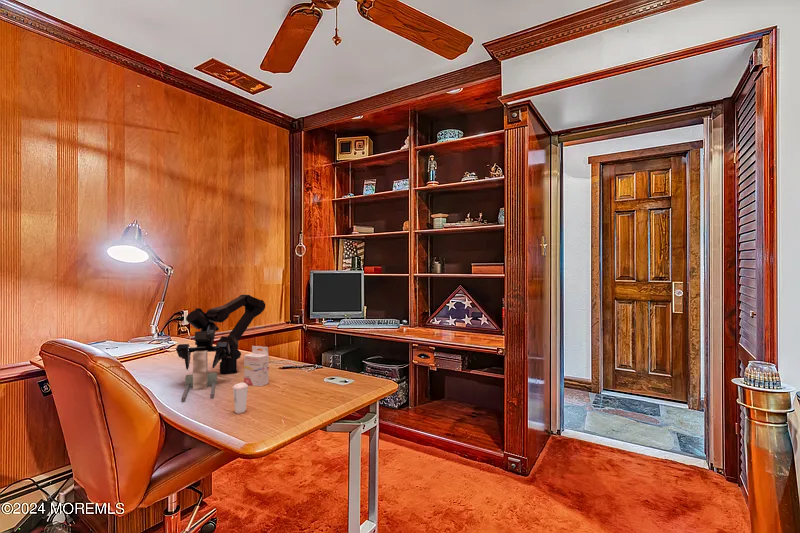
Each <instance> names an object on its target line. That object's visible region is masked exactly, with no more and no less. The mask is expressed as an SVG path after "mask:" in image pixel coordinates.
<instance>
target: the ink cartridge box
mask: <svg viewBox="0 0 800 533" xmlns="http://www.w3.org/2000/svg"><path fill="white" fill-rule="evenodd" d="M269 357H270V356H269V347H268V346H262V345H252V346H251V352H250V353H247V354H245V355H244V356H243V360H244V361H243V365H244V366H243V383H246V384H247V385H248V386H253V387H263V386H266V385H268V384H269V383H270V380H269V379H270V376H269V374H270V373H269V371H270V370H269V369H270V366H269V363H270V362H269V361H270V360H269V359H270V358H269Z"/></svg>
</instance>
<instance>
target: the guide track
mask: <svg viewBox="0 0 800 533" xmlns="http://www.w3.org/2000/svg"><path fill="white" fill-rule="evenodd" d="M184 379H185V380H184V381H185V383H184V390H183V394H182V396H181V403H185V402H186V400H187V396H188V394H189V391H190V388H193V373H192V374H187V375H186V374H185V378H184ZM217 384H218V372H217V371H216V372H215V371H213V372H208V386H211V387H210V388H211V389H210V399H211V400H212V399H214V398H215V390H216V386H217Z"/></svg>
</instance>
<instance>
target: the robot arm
mask: <svg viewBox="0 0 800 533" xmlns="http://www.w3.org/2000/svg"><path fill="white" fill-rule="evenodd" d="M242 307H244V312H243V314H242V316H241V317H240V318H239V319H238V320H237V323H236V324H235V325H234V327H233V328H232V330H231V331H230V333H228V335H227V336H226V335H225V336H221V337H220V338H219V340H218V341H217V342H216V345H214V343H215V338H216V332H218V331H220V328H219V327H218V326H217V324H216V323H224V322H225V321H226V320H228V318H229V317H230V315H231V314H232V313H234V312H235V311H237V310H239V309H241V308H242ZM265 309H266V302H265V301H264V300H263V299H259V298H257V297H253V295H250V294H240V295H239V296H238V297H236V298H234V299H232V300H230V301H229V302H227V303H225V304H223V305H220V306H216V307H212V308H209V309H208V310H207V311H206V312H205V311H204V310H203V309H202V308H199V307H197V308H195V309H194V310H192V311H191V312H189V313H187V315H186V317H185V321H187V323H189V324H190V325H191V326H192V327H193V328H195V329H196V330H199V331H195V332H194V339H193V340H194V341H195V342H194V344H195V346H190V344H189V343H180V344H177V345H176V347H175V350H176V353H177V355H178V358H180V359H182V360H184V363H185V370H186V371H188V369H189V368H190V363H191V354H192V353H194V351H204V350H207V353H209V352H210V353H211V352H215V354H214V358H213V362H212V367H211V368H212V369H215V368H216V366H217V365H218V363H219V373H220V375H227V374H228V375H229V374H237V373H238V366H237V364H238V360H239V359H240V358H241V357H242V352H241V351H240V350H239V349H238V348H239V341H240V339H241V338H242V336H243V335H244V334H245V332H246V330H247V329H248V327H249V326H250V324H251V323H252V322H253V320H254V318H256V317H257V316H259V315H261V314H262V313H263V312H264V310H265ZM213 345H214V346H213Z"/></svg>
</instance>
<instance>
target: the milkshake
mask: <svg viewBox="0 0 800 533" xmlns="http://www.w3.org/2000/svg"><path fill="white" fill-rule="evenodd" d="M230 384H231V386H232V394H233V395H232V396H233V401H234V402H233V404H234V413H235V414H237V415H239V414H244V413H245V412H247V401H248V400H247V399H248V391H249V389H248V388H249V385H247V384H246V383H244V382H242V381H241V382H239V383H238V382H237V383H236V384H234V385H233V382H232V381H231V380H230Z"/></svg>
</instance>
